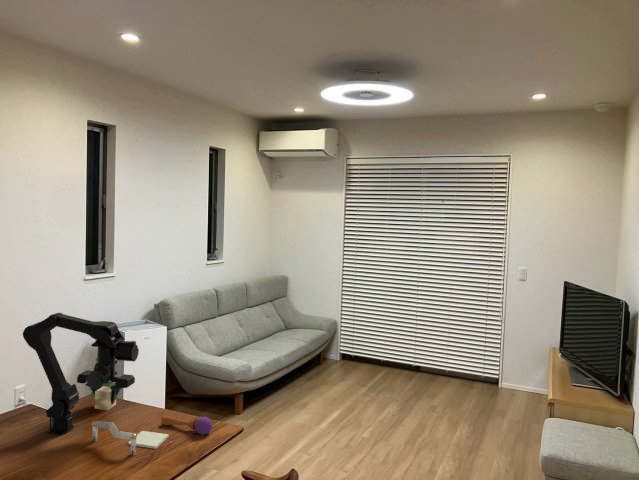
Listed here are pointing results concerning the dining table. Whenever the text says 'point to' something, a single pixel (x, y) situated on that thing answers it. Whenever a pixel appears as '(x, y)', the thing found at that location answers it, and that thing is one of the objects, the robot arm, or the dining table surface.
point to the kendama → (190, 424)
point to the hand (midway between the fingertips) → (105, 402)
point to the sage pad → (149, 439)
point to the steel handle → (114, 433)
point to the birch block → (103, 398)
